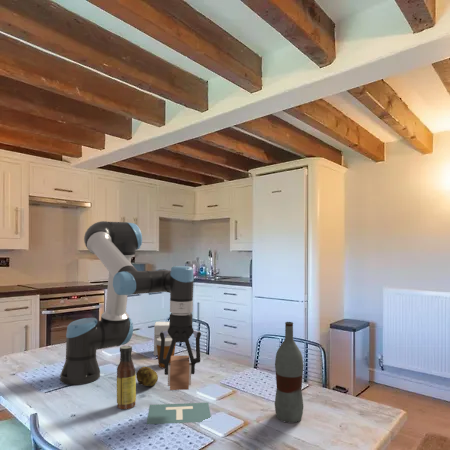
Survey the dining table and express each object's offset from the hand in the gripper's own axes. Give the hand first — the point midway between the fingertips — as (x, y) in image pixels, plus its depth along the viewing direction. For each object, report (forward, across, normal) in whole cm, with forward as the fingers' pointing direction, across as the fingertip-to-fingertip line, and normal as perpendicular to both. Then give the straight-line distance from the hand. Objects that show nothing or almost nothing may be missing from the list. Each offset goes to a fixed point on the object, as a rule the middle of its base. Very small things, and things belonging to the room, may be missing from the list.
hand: (179, 384), depth 123 cm
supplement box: (+11, -8, +68) cm, 70 cm away
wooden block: (+1, 0, 0) cm, 1 cm away
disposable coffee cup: (+10, -6, +48) cm, 50 cm away
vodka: (+9, +35, -6) cm, 37 cm away
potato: (+10, -12, +25) cm, 29 cm away
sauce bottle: (+10, -18, +6) cm, 21 cm away
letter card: (+9, 0, 0) cm, 9 cm away
